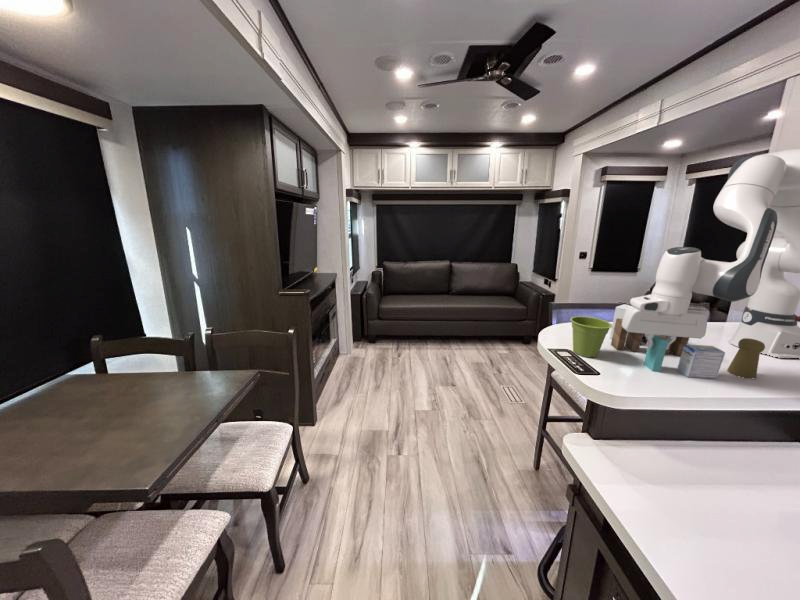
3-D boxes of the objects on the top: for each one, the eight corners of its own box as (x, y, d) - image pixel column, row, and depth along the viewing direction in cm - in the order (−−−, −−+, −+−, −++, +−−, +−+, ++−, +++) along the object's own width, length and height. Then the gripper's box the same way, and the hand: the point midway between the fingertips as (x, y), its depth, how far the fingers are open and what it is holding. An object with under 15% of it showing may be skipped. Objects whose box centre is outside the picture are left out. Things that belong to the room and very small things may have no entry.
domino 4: (659, 349, 111) (667, 322, 108) (668, 355, 106) (675, 327, 103) (653, 348, 111) (660, 322, 108) (661, 354, 106) (668, 326, 104)
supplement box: (639, 340, 118) (647, 308, 115) (630, 344, 114) (638, 311, 111) (617, 334, 124) (624, 303, 121) (608, 338, 120) (615, 306, 116)
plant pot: (598, 348, 110) (605, 318, 107) (610, 363, 99) (618, 329, 96) (561, 344, 113) (566, 314, 110) (569, 358, 102) (575, 325, 99)
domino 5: (674, 351, 110) (682, 323, 107) (683, 357, 105) (691, 329, 102) (668, 350, 110) (675, 323, 107) (676, 356, 105) (684, 328, 103)
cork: (750, 380, 91) (763, 345, 88) (722, 371, 96) (734, 337, 93) (760, 376, 93) (772, 342, 90) (732, 367, 98) (744, 334, 95)
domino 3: (650, 364, 99) (658, 334, 96) (659, 372, 94) (668, 341, 92) (643, 363, 99) (651, 334, 97) (652, 371, 95) (660, 340, 92)
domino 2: (631, 346, 112) (637, 320, 110) (637, 352, 108) (644, 324, 105) (624, 345, 113) (630, 319, 110) (631, 351, 108) (638, 324, 105)
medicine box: (704, 372, 95) (712, 345, 93) (717, 379, 91) (726, 351, 88) (676, 370, 96) (683, 343, 93) (687, 377, 91) (695, 350, 89)
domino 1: (616, 345, 113) (623, 318, 111) (623, 350, 109) (629, 323, 106) (610, 344, 114) (616, 318, 111) (616, 350, 109) (622, 322, 106)
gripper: (703, 304, 92) (690, 347, 96) (624, 298, 96) (615, 340, 100) (719, 310, 86) (704, 356, 90) (634, 303, 90) (624, 348, 94)
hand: (656, 347), depth 95 cm, fingers open, 2 cm apart
